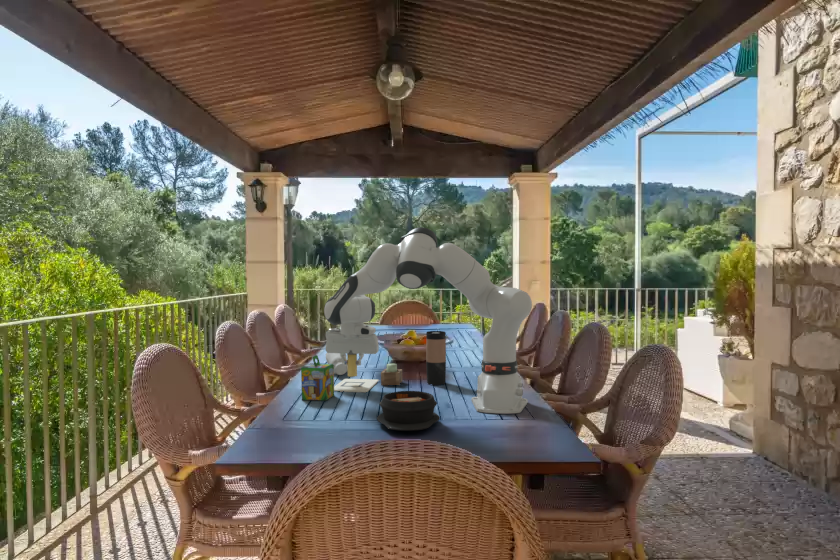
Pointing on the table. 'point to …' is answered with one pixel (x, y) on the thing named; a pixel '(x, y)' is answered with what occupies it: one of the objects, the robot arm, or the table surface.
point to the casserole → (408, 410)
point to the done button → (391, 367)
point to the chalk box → (317, 381)
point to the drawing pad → (355, 385)
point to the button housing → (391, 377)
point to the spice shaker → (352, 364)
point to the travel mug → (436, 357)
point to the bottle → (337, 363)
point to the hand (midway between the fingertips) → (352, 365)
